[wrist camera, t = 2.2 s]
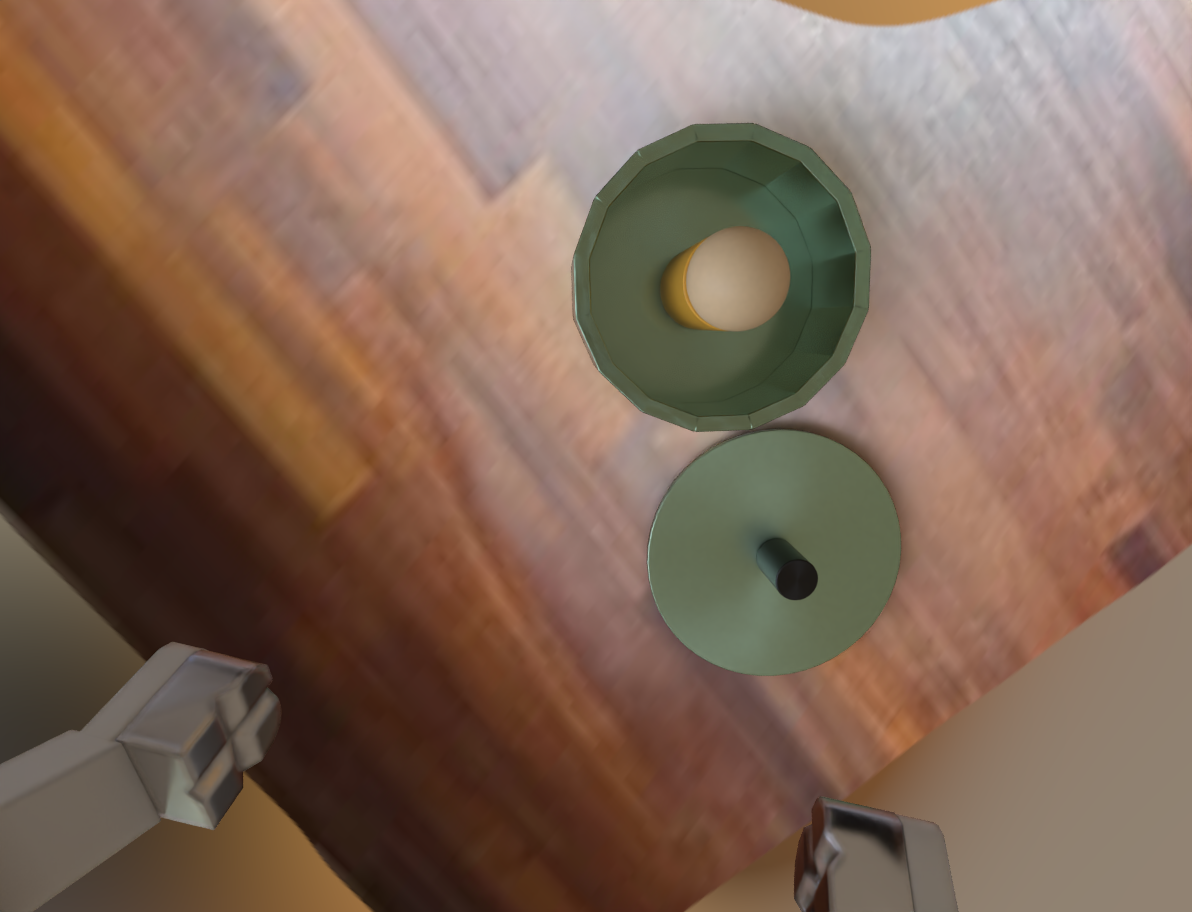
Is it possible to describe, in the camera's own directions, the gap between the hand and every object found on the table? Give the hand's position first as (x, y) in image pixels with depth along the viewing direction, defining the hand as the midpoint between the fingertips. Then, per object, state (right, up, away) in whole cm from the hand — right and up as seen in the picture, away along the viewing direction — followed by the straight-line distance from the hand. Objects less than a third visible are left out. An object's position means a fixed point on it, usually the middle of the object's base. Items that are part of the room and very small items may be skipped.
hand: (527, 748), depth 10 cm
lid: (+12, -2, +33) cm, 36 cm away
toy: (+7, +14, +30) cm, 34 cm away
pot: (+7, +14, +31) cm, 35 cm away
